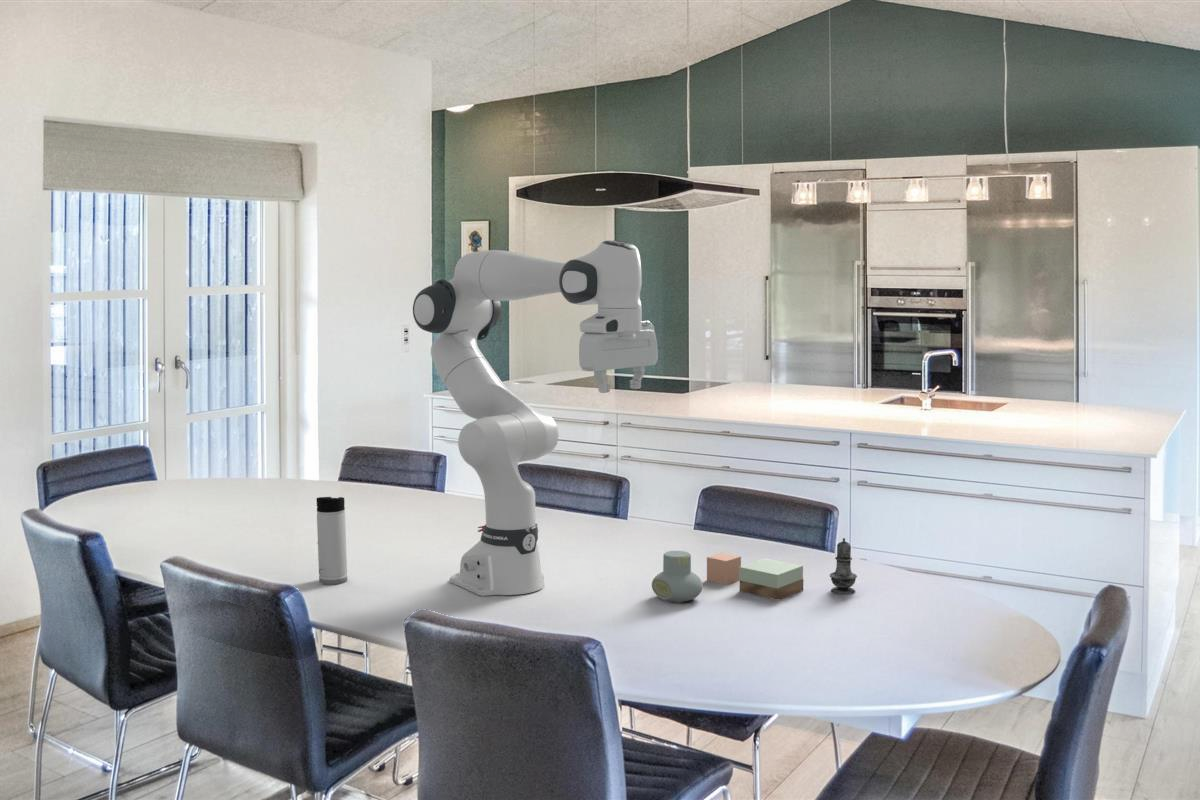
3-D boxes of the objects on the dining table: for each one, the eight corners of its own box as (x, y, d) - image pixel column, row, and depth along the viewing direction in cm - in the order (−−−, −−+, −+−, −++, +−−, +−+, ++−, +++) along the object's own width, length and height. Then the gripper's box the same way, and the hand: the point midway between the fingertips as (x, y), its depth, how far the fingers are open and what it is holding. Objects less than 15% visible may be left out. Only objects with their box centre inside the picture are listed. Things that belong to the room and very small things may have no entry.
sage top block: (739, 580, 254) (739, 566, 253) (764, 571, 261) (765, 558, 261) (777, 588, 247) (777, 574, 247) (802, 579, 254) (803, 565, 254)
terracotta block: (706, 580, 263) (706, 557, 262) (721, 575, 267) (721, 552, 266) (726, 585, 259) (726, 561, 259) (740, 580, 263) (740, 556, 263)
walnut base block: (739, 593, 254) (739, 580, 254) (765, 583, 261) (765, 571, 261) (777, 602, 247) (777, 588, 247) (803, 592, 255) (803, 579, 254)
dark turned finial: (859, 595, 251) (860, 540, 249) (832, 595, 251) (833, 541, 249) (853, 587, 256) (854, 534, 255) (827, 587, 257) (828, 534, 255)
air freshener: (708, 602, 246) (708, 556, 245) (677, 608, 242) (677, 562, 241) (676, 590, 255) (676, 545, 254) (646, 596, 251) (646, 551, 250)
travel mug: (314, 584, 261) (311, 498, 259) (325, 577, 268) (322, 492, 265) (340, 586, 260) (337, 498, 258) (351, 578, 267) (348, 492, 264)
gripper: (641, 319, 242) (642, 385, 243) (573, 323, 227) (574, 393, 229) (665, 320, 238) (665, 387, 239) (596, 324, 223) (597, 396, 224)
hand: (620, 390), depth 234 cm, fingers open, 8 cm apart
